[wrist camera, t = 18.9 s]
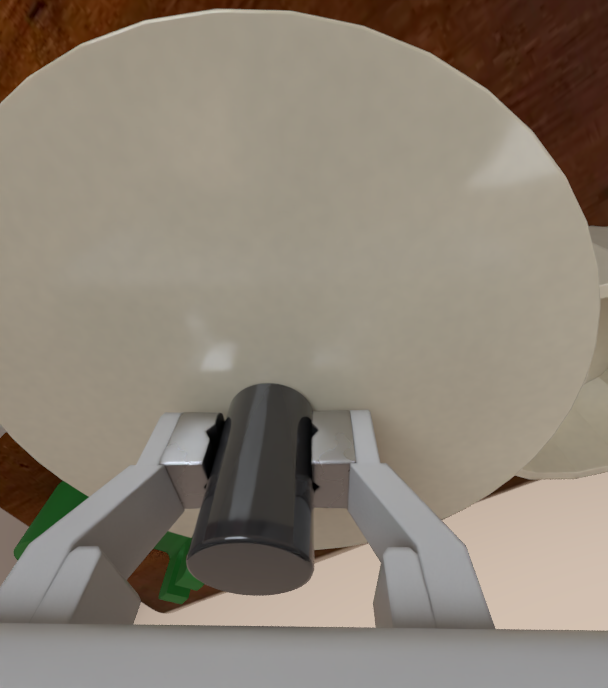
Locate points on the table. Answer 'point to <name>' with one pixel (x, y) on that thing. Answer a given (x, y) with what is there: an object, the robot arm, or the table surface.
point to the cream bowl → (583, 403)
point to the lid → (283, 272)
